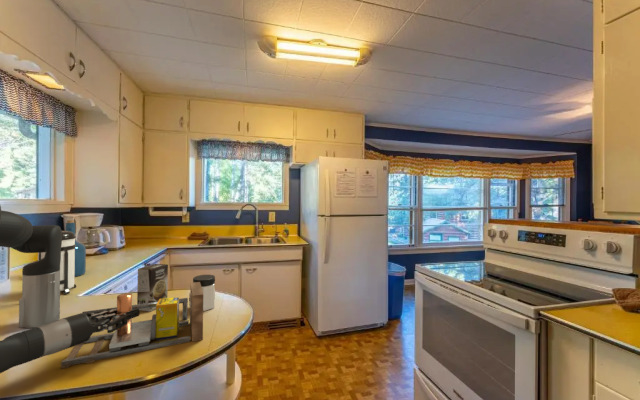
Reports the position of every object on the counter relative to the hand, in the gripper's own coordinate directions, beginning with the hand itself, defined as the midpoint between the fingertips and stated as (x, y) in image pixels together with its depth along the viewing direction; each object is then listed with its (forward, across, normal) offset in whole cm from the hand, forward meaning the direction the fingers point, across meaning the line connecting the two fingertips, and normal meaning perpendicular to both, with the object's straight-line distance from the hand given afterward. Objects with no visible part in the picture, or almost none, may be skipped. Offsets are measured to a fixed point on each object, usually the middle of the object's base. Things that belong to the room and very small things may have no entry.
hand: (134, 310), depth 86 cm
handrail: (+6, +8, +9) cm, 13 cm away
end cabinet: (+13, -11, +9) cm, 20 cm away
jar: (+28, +3, +9) cm, 30 cm away
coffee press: (+7, +72, +9) cm, 72 cm away
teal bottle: (+22, +101, +9) cm, 104 cm away
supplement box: (+7, -6, +9) cm, 13 cm away
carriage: (0, -2, +8) cm, 8 cm away
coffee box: (+18, +20, +9) cm, 29 cm away
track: (-1, -2, +9) cm, 9 cm away
